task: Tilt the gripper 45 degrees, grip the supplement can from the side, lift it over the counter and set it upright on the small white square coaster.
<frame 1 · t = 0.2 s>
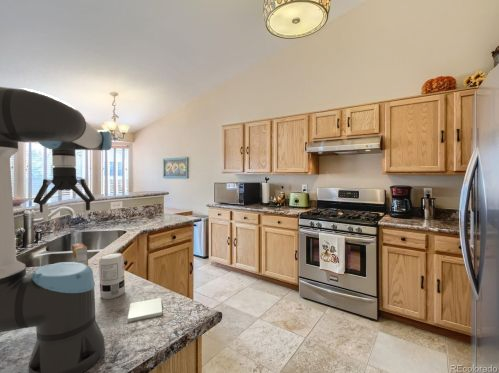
hand: (66, 219, 101), 28 cm above the countertop, tool pointing down, fingers open, 13 cm apart
candy box: (81, 280, 109), on the countertop
supplement can: (112, 295, 95), on the countertop
white square coaster: (145, 310, 83), on the countertop
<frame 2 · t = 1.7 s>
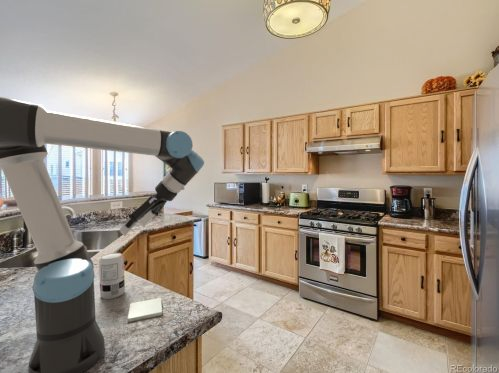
hand: (132, 228, 92), 26 cm above the countertop, tool tilted 45°, fingers open, 13 cm apart
nothing on the countertop moved.
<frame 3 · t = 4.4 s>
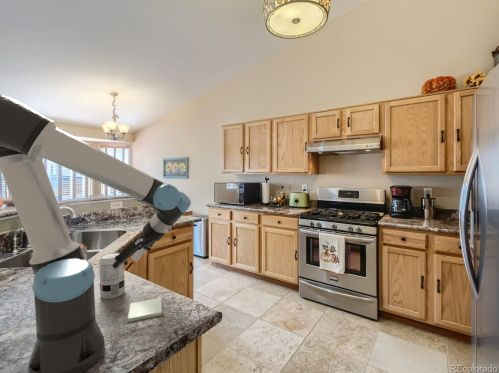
hand: (122, 265, 95), 11 cm above the countertop, tool tilted 45°, fingers open, 13 cm apart
nothing on the countertop moved.
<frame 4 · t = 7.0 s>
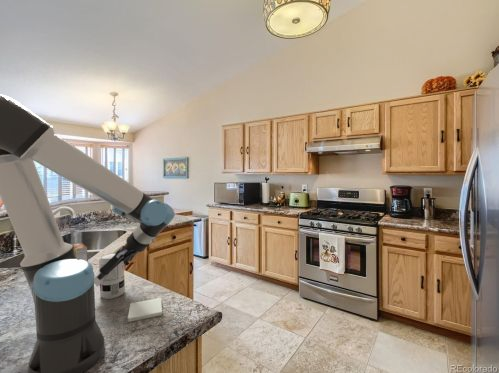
hand: (104, 278, 95), 6 cm above the countertop, tool tilted 45°, fingers closed on supplement can, 8 cm apart
supplement can: (112, 295, 95), on the countertop, touching gripper
everything else where it was.
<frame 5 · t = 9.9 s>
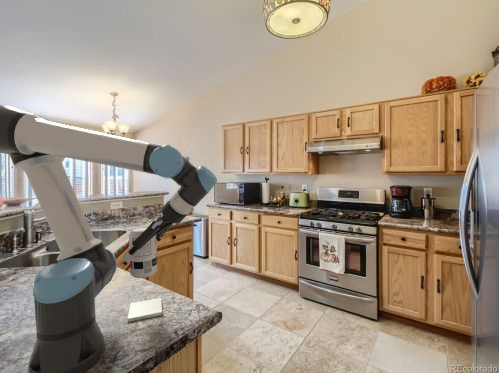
hand: (134, 255, 83), 19 cm above the countertop, tool tilted 45°, fingers closed on supplement can, 8 cm apart
supplement can: (144, 274, 83), point 12 cm above the countertop, touching gripper
everything else where it was.
when the fingers open (9 cm above the countertop, at t = 13.1 s): supplement can drops 1 cm, resting on white square coaster.
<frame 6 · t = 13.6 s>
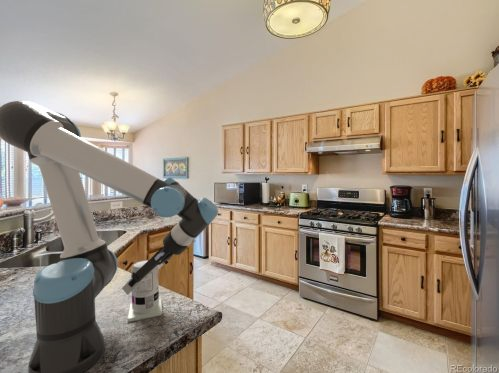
hand: (138, 281, 83), 10 cm above the countertop, tool tilted 45°, fingers open, 13 cm apart
supplement can: (145, 308, 83), point 1 cm above the countertop, touching white square coaster
everything else where it was.
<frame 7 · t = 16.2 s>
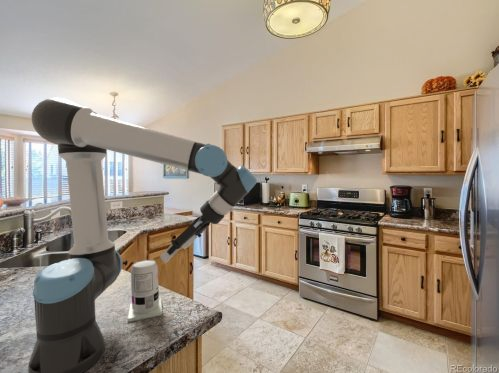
hand: (173, 252, 82), 20 cm above the countertop, tool tilted 45°, fingers open, 13 cm apart
nothing on the countertop moved.
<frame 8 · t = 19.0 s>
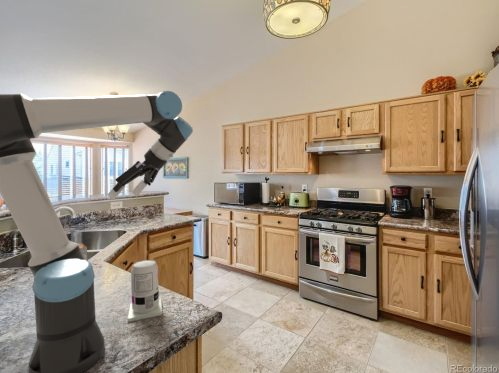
hand: (123, 195, 94), 38 cm above the countertop, tool tilted 45°, fingers open, 13 cm apart
nothing on the countertop moved.
at the end: supplement can inside the target area on the white square coaster (0.2 cm from its centre), point 0.8 cm above the white square coaster's base; supplement can tilted 0°; the gripper is holding nothing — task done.
